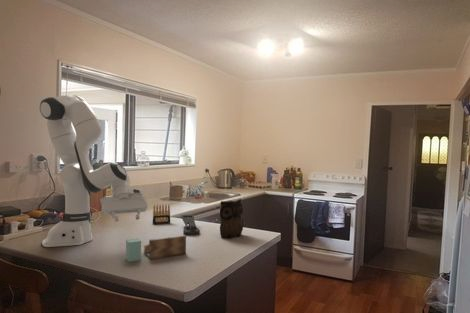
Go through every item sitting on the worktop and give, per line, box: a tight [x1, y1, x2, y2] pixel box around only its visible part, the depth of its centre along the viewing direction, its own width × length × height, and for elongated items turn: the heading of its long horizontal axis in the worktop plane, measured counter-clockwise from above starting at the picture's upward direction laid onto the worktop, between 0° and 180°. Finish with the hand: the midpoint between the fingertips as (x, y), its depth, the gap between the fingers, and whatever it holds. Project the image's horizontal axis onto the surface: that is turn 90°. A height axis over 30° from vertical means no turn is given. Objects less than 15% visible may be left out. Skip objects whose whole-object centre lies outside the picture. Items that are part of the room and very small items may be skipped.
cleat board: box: [143, 235, 187, 260], centre depth 152 cm, size 16×10×8 cm, turn 120°
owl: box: [219, 198, 245, 240], centre depth 183 cm, size 13×13×20 cm
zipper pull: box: [180, 214, 201, 237], centre depth 196 cm, size 9×7×25 cm
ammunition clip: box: [152, 203, 171, 225], centre depth 212 cm, size 11×2×12 cm, turn 109°
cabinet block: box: [125, 237, 142, 262], centre depth 144 cm, size 5×6×8 cm
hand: (127, 219), depth 155 cm, fingers open, 8 cm apart
